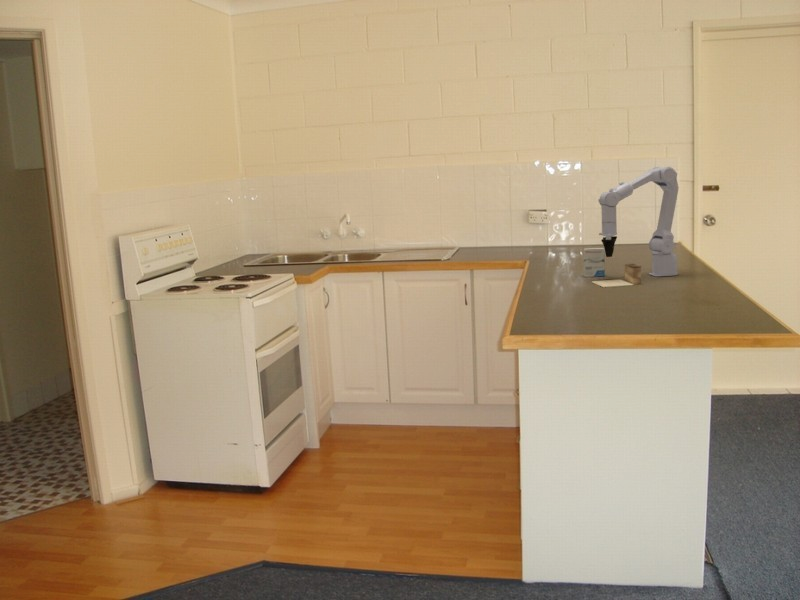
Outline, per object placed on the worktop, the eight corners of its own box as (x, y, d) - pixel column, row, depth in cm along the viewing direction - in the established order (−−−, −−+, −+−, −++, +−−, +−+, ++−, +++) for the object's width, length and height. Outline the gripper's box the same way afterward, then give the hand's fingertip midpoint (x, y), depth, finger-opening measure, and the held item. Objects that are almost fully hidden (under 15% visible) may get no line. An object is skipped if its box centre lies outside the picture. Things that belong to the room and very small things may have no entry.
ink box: (604, 274, 326) (604, 247, 324) (604, 276, 322) (604, 248, 320) (584, 275, 329) (583, 247, 327) (583, 277, 324) (583, 249, 322)
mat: (620, 280, 310) (620, 279, 310) (633, 285, 296) (633, 284, 296) (591, 282, 309) (591, 281, 309) (603, 287, 295) (603, 286, 295)
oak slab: (633, 280, 307) (633, 263, 306) (641, 283, 299) (641, 266, 298) (625, 281, 307) (624, 264, 306) (632, 284, 299) (632, 266, 298)
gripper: (599, 220, 316) (600, 253, 318) (597, 224, 302) (598, 258, 305) (617, 220, 314) (618, 253, 316) (616, 223, 300) (616, 257, 303)
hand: (609, 255), depth 310 cm, fingers open, 7 cm apart
